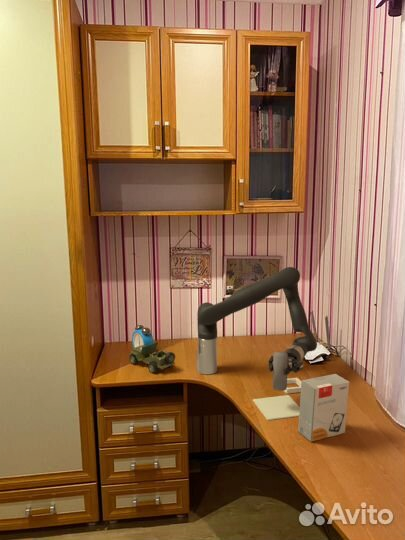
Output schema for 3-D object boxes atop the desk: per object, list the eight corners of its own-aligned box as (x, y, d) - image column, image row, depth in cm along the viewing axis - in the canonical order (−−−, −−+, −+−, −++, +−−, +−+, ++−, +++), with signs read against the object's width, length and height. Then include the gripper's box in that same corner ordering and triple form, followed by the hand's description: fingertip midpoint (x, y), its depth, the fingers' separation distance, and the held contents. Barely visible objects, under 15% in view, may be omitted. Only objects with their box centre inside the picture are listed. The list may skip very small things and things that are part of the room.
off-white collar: (286, 393, 180) (286, 389, 179) (277, 383, 189) (277, 379, 188) (306, 391, 182) (307, 386, 181) (297, 381, 191) (297, 377, 191)
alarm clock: (132, 350, 228) (131, 324, 225) (141, 348, 232) (141, 322, 229) (144, 358, 218) (144, 330, 215) (154, 355, 222) (154, 328, 219)
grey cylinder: (276, 391, 163) (277, 357, 161) (270, 385, 168) (271, 352, 166) (289, 389, 164) (290, 356, 162) (283, 383, 170) (284, 351, 167)
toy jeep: (146, 356, 221) (145, 336, 219) (178, 369, 204) (178, 348, 202) (127, 362, 213) (126, 342, 211) (159, 377, 196) (159, 355, 194)
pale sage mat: (267, 420, 158) (267, 419, 158) (252, 400, 174) (252, 399, 174) (306, 415, 162) (306, 414, 162) (288, 396, 177) (288, 395, 177)
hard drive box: (310, 443, 144) (313, 389, 141) (297, 431, 151) (299, 380, 147) (346, 433, 150) (349, 381, 147) (331, 422, 157) (334, 372, 154)
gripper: (276, 344, 180) (260, 358, 166) (309, 351, 173) (296, 365, 158) (276, 361, 181) (260, 376, 167) (309, 368, 174) (295, 384, 160)
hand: (277, 371), depth 163 cm, fingers closed on grey cylinder, 5 cm apart
